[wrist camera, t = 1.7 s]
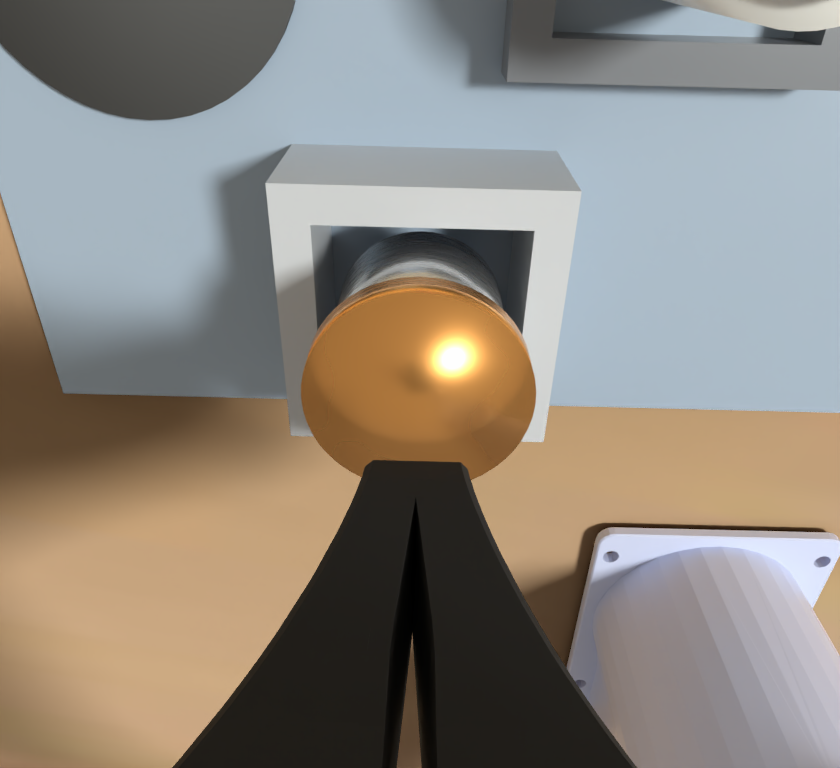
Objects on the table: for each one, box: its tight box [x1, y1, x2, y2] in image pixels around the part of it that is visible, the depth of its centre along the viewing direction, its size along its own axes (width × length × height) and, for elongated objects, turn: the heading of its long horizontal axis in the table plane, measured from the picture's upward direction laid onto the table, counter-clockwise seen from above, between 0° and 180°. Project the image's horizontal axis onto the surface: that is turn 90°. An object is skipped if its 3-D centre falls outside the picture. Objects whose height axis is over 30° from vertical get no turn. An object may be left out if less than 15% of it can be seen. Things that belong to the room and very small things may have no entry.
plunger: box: [301, 231, 536, 480], centre depth 14 cm, size 4×4×4 cm
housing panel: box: [0, 0, 840, 442], centre depth 14 cm, size 16×22×4 cm
